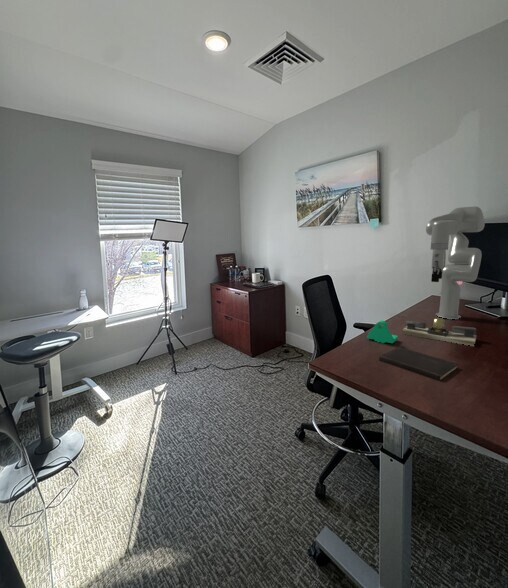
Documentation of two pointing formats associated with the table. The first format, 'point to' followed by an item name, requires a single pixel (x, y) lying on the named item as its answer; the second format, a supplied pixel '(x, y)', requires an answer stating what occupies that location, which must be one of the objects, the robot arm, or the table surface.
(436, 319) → the yellow round-topped cylinder
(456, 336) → the stand
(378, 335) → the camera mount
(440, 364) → the hardcover book
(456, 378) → the table surface
